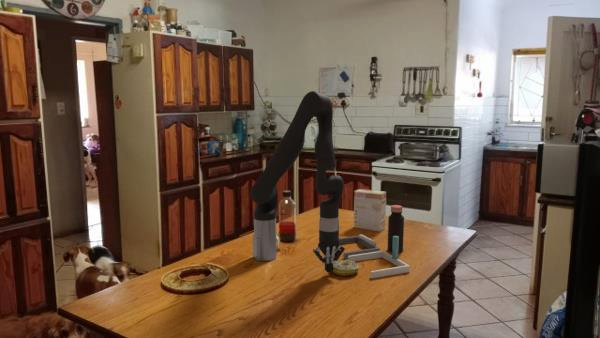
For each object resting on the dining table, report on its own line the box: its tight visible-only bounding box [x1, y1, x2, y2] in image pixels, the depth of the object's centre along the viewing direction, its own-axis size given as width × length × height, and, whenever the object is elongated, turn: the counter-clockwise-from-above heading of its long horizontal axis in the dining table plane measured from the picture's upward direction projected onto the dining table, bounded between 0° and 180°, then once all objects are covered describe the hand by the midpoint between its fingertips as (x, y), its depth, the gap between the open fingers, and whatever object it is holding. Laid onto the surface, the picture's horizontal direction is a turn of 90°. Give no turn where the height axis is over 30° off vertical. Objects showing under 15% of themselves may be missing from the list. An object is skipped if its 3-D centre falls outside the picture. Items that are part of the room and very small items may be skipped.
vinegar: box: [387, 204, 405, 253], centre depth 202 cm, size 7×7×20 cm
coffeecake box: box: [353, 188, 387, 233], centre depth 236 cm, size 15×7×20 cm, turn 58°
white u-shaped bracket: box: [347, 236, 411, 279], centre depth 183 cm, size 18×19×12 cm
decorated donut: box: [332, 259, 360, 277], centre depth 178 cm, size 10×11×4 cm
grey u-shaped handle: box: [339, 233, 381, 260], centre depth 204 cm, size 18×19×4 cm
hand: (328, 271), depth 176 cm, fingers closed
